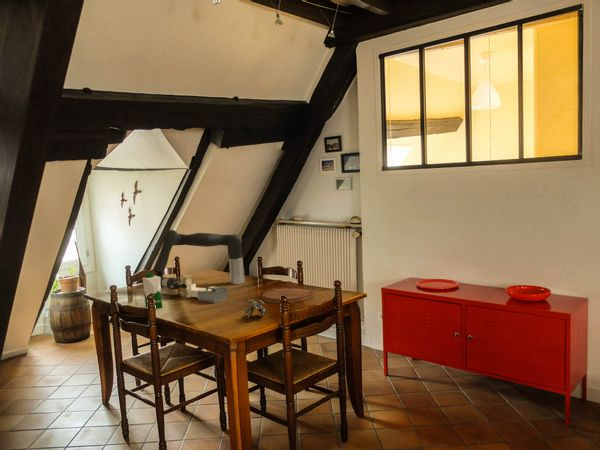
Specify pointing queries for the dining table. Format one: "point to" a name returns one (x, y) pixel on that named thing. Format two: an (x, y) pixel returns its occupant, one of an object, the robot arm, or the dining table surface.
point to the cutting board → (288, 294)
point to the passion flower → (255, 307)
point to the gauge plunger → (195, 290)
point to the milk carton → (153, 288)
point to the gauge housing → (213, 294)
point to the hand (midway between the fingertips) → (189, 285)
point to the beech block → (186, 280)
